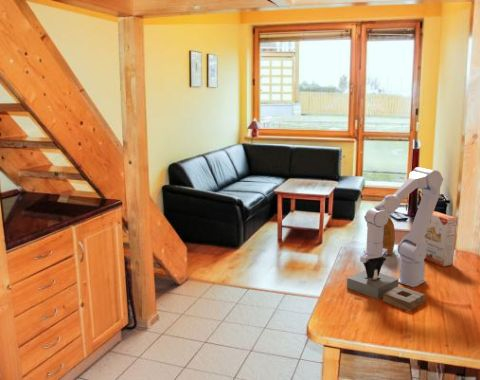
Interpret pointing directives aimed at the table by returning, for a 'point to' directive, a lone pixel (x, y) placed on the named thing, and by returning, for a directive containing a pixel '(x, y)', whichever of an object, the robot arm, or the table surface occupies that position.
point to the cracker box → (441, 239)
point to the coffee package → (389, 236)
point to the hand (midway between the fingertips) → (372, 276)
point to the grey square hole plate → (371, 284)
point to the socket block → (404, 298)
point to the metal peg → (374, 275)
